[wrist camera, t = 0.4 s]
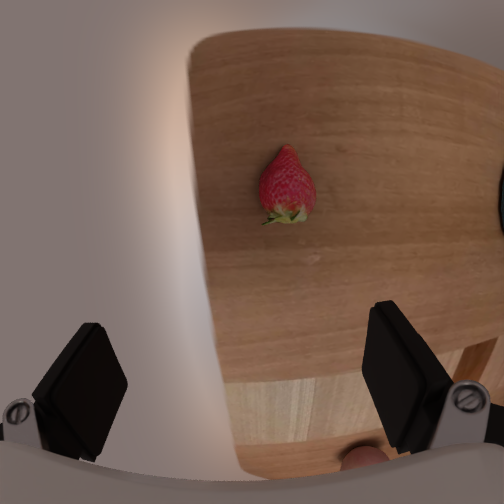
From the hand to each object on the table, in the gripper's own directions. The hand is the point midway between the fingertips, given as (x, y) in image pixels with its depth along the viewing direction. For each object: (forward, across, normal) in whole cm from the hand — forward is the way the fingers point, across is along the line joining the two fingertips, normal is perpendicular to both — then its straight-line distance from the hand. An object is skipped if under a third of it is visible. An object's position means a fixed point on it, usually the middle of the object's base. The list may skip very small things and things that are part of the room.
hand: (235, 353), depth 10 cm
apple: (+15, -14, +37) cm, 42 cm away
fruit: (+16, -4, -3) cm, 16 cm away
